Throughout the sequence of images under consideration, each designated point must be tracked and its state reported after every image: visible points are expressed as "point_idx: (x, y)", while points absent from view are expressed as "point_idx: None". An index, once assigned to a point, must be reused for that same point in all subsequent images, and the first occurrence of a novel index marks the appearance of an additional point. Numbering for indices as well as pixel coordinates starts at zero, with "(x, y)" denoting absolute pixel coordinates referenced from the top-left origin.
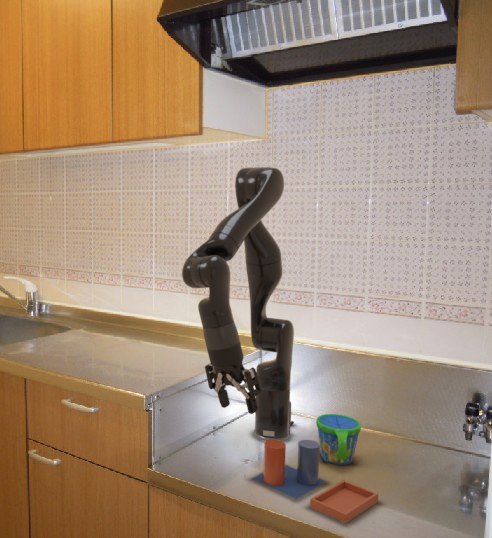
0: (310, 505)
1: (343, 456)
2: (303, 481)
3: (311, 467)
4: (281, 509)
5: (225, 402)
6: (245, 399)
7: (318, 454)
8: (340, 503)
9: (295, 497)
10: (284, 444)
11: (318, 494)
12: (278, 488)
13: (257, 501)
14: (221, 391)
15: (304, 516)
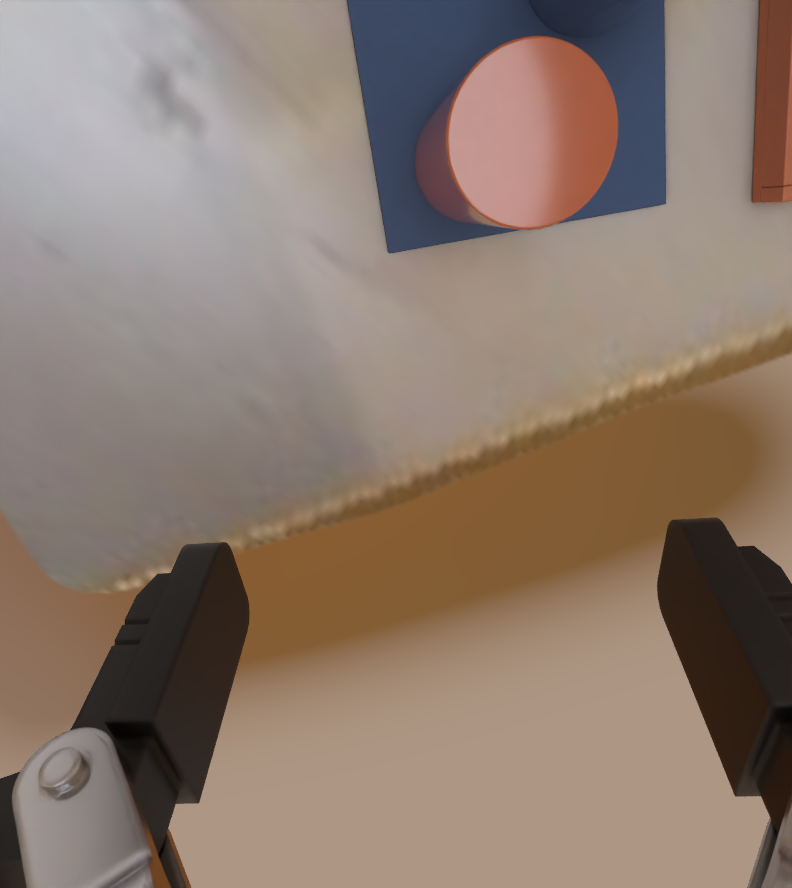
0: (762, 201)
1: None
2: (608, 28)
3: None
4: (670, 331)
5: (226, 624)
6: (732, 783)
7: None
8: None
9: (658, 196)
10: (588, 70)
11: (789, 120)
12: None
13: (558, 377)
14: (169, 794)
15: (771, 284)
